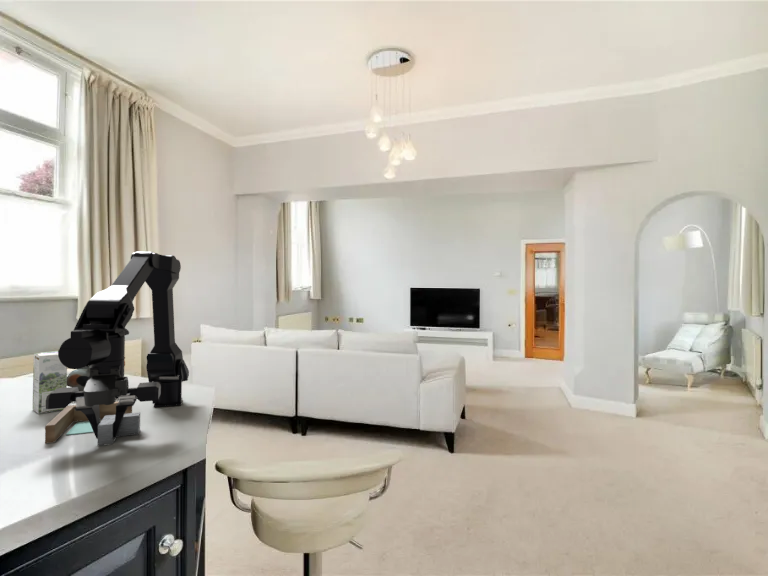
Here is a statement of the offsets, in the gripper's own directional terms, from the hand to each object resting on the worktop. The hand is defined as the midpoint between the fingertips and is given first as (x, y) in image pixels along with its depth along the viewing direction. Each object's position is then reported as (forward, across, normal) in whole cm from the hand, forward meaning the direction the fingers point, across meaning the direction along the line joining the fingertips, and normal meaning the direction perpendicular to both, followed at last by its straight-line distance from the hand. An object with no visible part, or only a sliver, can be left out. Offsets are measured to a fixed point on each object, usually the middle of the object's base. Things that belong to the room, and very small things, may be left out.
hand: (106, 437), depth 85 cm
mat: (+1, -4, +12) cm, 13 cm away
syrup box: (+1, -18, +31) cm, 36 cm away
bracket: (+1, +2, +2) cm, 3 cm away
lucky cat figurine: (+1, -11, +48) cm, 50 cm away
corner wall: (+1, -4, +12) cm, 12 cm away
